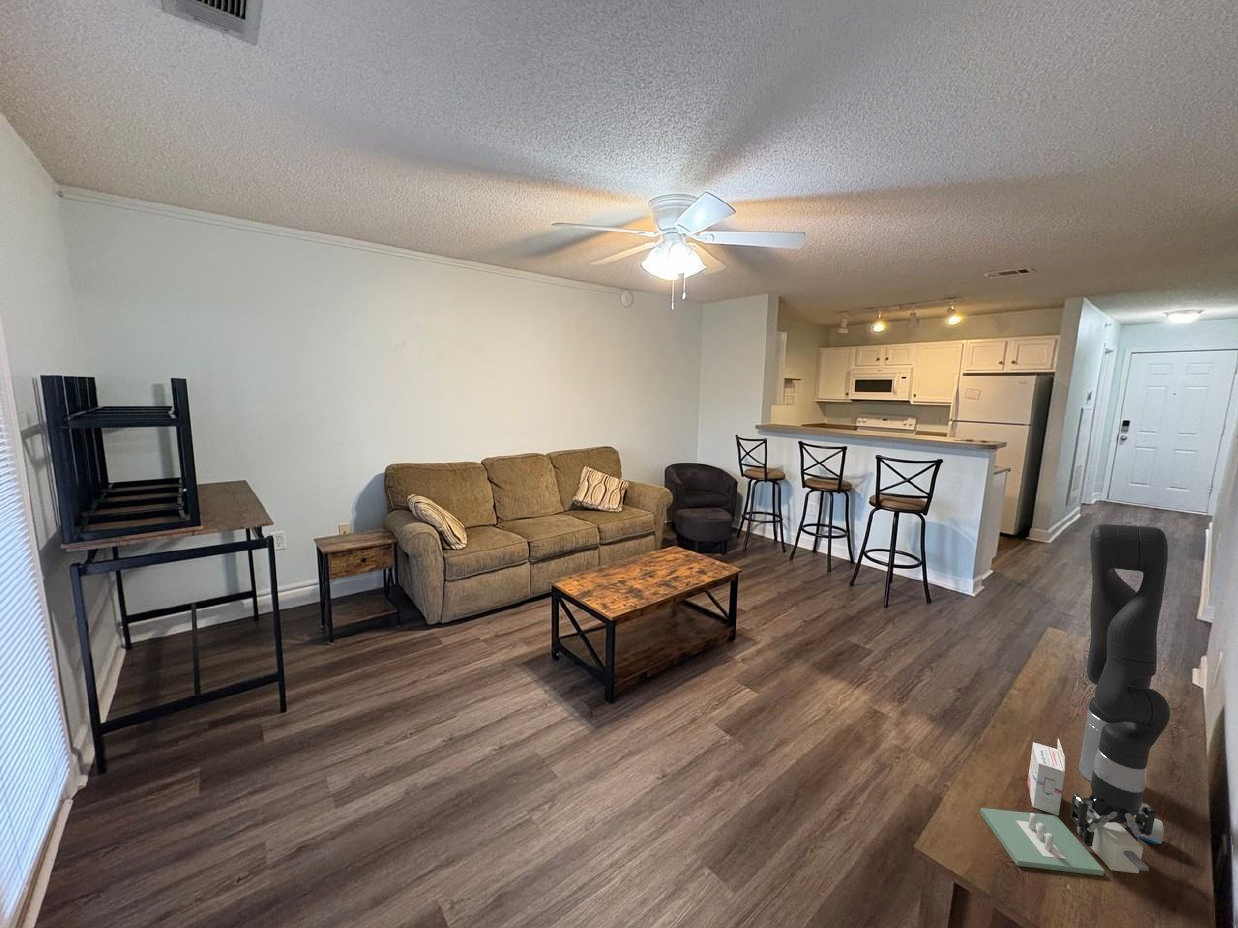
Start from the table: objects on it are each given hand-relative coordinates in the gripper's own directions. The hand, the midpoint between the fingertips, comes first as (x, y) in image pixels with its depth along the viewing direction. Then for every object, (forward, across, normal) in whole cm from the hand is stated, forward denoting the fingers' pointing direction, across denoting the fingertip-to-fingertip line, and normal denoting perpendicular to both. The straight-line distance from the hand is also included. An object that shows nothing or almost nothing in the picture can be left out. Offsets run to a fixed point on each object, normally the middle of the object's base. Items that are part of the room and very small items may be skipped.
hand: (1106, 844), depth 104 cm
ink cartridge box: (+2, +4, -13) cm, 14 cm away
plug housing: (+1, 0, +2) cm, 2 cm away
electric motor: (+2, -11, -5) cm, 12 cm away
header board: (+2, +13, 0) cm, 13 cm away
